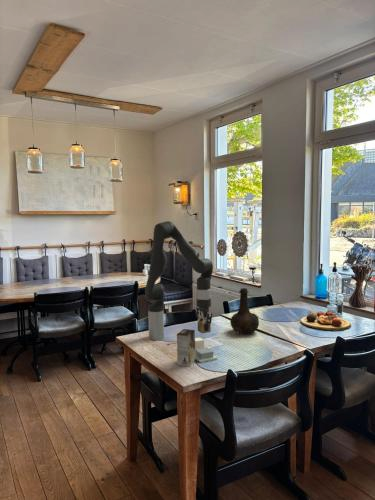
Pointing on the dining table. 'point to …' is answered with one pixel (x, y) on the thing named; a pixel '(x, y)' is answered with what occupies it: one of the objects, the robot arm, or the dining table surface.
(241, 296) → the glass bottle
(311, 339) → the dining table surface
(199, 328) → the walnut brick
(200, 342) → the cream brick
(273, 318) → the dining table surface
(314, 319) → the wooden plate with food
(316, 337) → the dining table surface
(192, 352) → the coffee box
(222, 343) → the dining table surface
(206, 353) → the tower base
